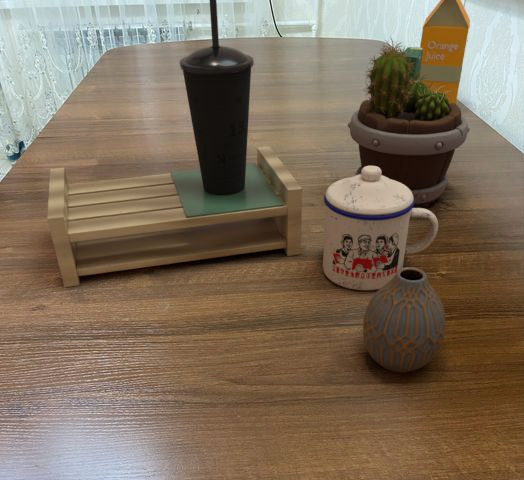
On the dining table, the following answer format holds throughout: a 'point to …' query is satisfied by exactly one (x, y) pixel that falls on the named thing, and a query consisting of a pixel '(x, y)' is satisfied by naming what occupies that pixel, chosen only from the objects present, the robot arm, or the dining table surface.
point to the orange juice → (444, 47)
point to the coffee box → (414, 60)
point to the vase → (404, 322)
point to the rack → (171, 219)
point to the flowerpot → (407, 128)
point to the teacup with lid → (369, 229)
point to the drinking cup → (219, 111)
